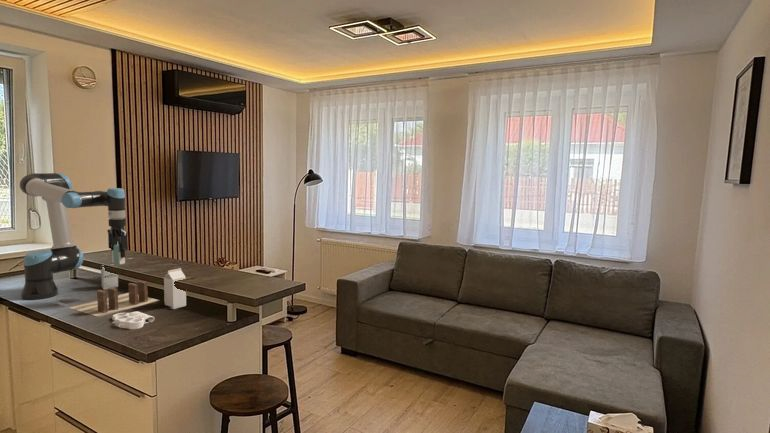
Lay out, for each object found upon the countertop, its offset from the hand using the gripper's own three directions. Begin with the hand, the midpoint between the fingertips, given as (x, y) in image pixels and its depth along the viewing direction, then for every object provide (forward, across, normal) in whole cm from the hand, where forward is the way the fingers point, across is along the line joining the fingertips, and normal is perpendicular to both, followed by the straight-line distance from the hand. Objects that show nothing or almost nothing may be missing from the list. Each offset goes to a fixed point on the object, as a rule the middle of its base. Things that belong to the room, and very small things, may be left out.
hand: (118, 262), depth 227 cm
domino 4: (+18, +16, -3) cm, 24 cm away
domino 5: (+18, +16, +2) cm, 24 cm away
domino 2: (+18, +16, -13) cm, 28 cm away
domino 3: (+1, 0, 0) cm, 1 cm away
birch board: (+19, +9, -8) cm, 23 cm away
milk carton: (+19, +34, +7) cm, 40 cm away
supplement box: (+20, -26, +10) cm, 34 cm away
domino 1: (+18, +16, -18) cm, 30 cm away
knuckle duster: (+20, +38, -18) cm, 47 cm away
